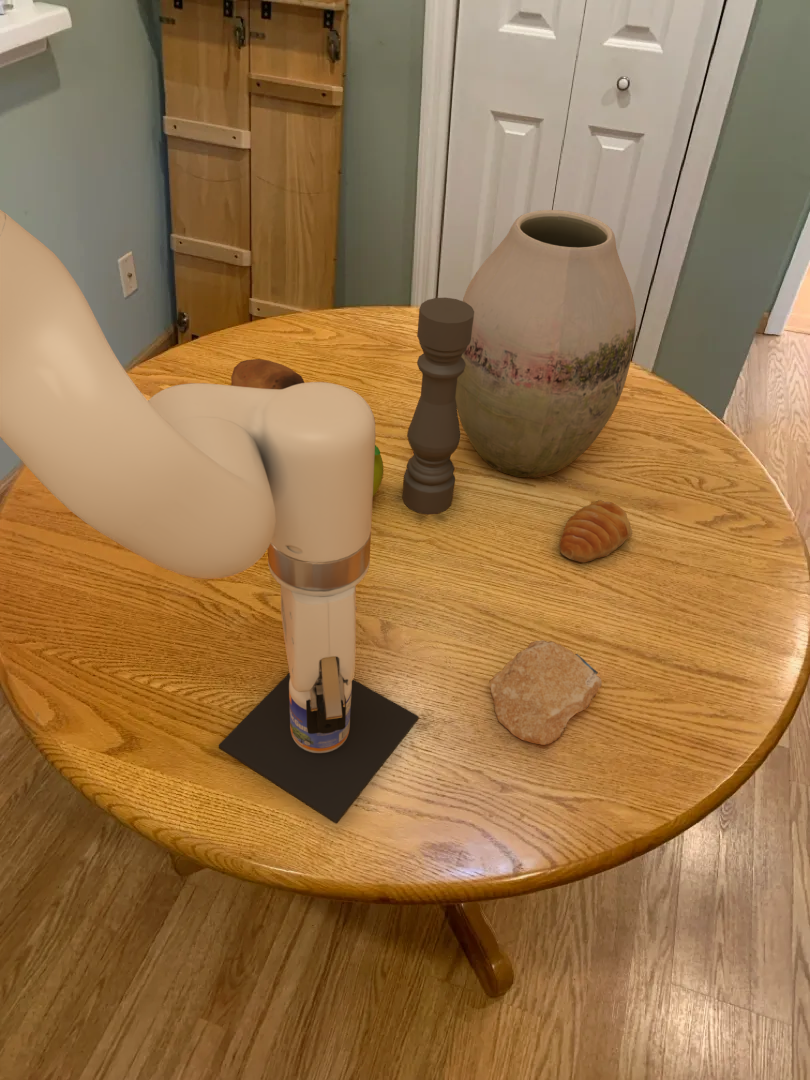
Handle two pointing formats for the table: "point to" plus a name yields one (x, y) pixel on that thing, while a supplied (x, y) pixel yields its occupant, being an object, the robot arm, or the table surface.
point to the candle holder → (437, 404)
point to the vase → (545, 343)
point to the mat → (320, 775)
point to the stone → (542, 691)
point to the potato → (264, 375)
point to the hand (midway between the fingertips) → (320, 697)
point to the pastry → (595, 531)
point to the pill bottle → (299, 723)
